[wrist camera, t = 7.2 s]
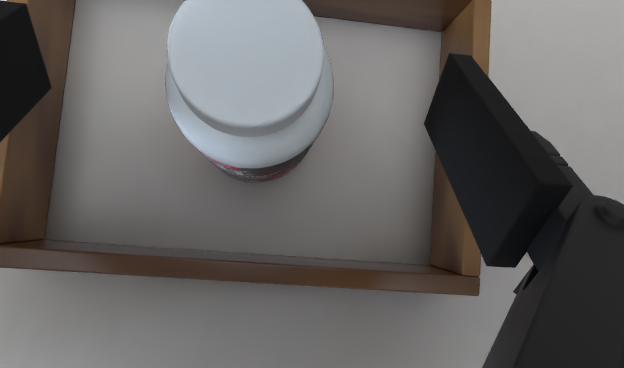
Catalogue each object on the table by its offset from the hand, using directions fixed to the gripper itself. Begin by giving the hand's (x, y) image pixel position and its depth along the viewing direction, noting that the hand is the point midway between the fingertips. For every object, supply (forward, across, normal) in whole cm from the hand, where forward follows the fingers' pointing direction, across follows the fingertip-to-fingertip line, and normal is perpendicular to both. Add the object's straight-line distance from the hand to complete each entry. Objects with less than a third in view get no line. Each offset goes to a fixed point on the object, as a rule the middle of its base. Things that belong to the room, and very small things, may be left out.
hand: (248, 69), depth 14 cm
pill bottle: (+4, 0, -5) cm, 7 cm away
